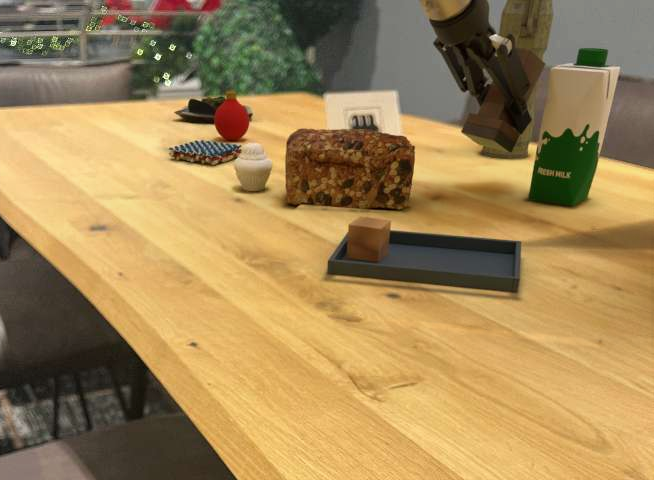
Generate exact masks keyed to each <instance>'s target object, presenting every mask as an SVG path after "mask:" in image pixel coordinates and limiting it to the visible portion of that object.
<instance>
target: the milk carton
mask: <svg viewBox="0 0 654 480" xmlns="http://www.w3.org/2000/svg"><path fill="white" fill-rule="evenodd" d="M608 55H609V49H606V48H596V47H594V48H593V47H583V48H581V47H580V48H578V52H577V55H576V56H577V57H576V62H575V63H564V64H557V65H556V66H554V67H550V69H549V77H548V83H547V91H546V99H545V103H544V109H543V112H542V113H543V114H542V119H541V124H540V130H539V134H538V139H537V145H536V151H535V158H534V163H533V169H532V172H531V173H532V174H531V180H530V186H529V192H528V198H527V199H528V200H530V201H536V202H542V203H548V204H554V205H560V206H567V207H574V206H576V205H578V204H579V203H581V202H582V201H584V200H585V199H588V197H589V194H590V190H591V187H592V185H593V181H594V178H595V175H596V172H597V167H598V164H599V159H600V156H601V152H602V147H603V144H604V139H605V134H606V131H607V125H608V121H609V118H610V113H611V109H612V104H613V100H614V96H615V91H616V87H617V84H618V79H619V75H620V70H621V66H612V65H608V64H606V63H607V59H608Z"/></svg>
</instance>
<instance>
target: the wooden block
mask: <svg viewBox="0 0 654 480" xmlns="http://www.w3.org/2000/svg"><path fill="white" fill-rule="evenodd" d="M391 226H392V220H390V219H383V218H378V217H377V218H376V217H369V216H358V217H357V218H355V219H354V220H353V221H352V222H350V223H348V226H347V227H348V228H347V229H348V230H347V233H348V243H347V258H348V259H355V260H362V261H369V262H375V263H378V262H379V261H380V260H382V259H383V258H384V257H385V256H386V255H387V254H388V250H389V239H390V230H391V229H392V228H391Z"/></svg>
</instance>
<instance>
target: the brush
mask: <svg viewBox="0 0 654 480" xmlns="http://www.w3.org/2000/svg"><path fill="white" fill-rule="evenodd" d="M516 50H517V53H518V55H519V58H520V60H521V62H522V65H523V67H524V70H525V72H526V75H527V77H528V79H529V82H530V84H531V87H530V88H529V90H528V91H527V93H526V94H525V95H524V99H525V102H526V104H527V101H528V99H529V97H530V95H531V93H532V91H533V89H534V87H535V85H536V83H537V81H538V79H539V80H540V77H541V75H542V72H543V70H544V69H545V66H546V62H545V61H543V59H542V60H541V59H540V58H539V57H538V56H537V55H536V54H535V53H534V52H533V51H531V50H528V49H521V48H516ZM538 82H539V81H538ZM490 84H491V86H490V88H489V90H488V92H487V94H486V96H485V99H484V101H483V103H482V105H481V107H480V106H479V110H478V111H477V113H473V112H469V113H468V116H467V118H466V120H465V122H464V125H463V127H462V129H461V131H460V133H461V134H463V135H464V136H466V137H467V138H468V139H470V140H471V141H473V142H474V143H476V144H477V145H479V146H482V147H483V146H486V147H490V148H493V149H497V150H501V151H505V152H508V153H511V152H512V150H513V148H514V146H515V144H516V142H517V140H518V138H519V136H520V133H519V132H518V131H516V130H515V129H514V128H515V127H514V125H513V123H512V121H511V119H510V116H509V114H508V112H507V110H506V108H505V106H504V105H503V103H504V101H505V100H506V99H505V97H504V96H503V95H502V93H501V92H500V90H499V89H498V87H497V86H496V84H495V83H494V81H493V80H492V81H491V83H490Z"/></svg>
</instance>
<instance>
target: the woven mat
mask: <svg viewBox="0 0 654 480" xmlns="http://www.w3.org/2000/svg"><path fill="white" fill-rule="evenodd" d="M242 147H243V145H241V144H240V145H238V144H236V143H234V144H232V143H229V142H227V143H226V142H217V141H210V140H204V139H202V140H199V141H198V140H194V141H189V142H188V143H184V144H179V145H175V146H174V148H173V147H169V148H168V150H171V152H169V153H168V155H169V157H170V158H175V160H176V161H180V160H182V161H187V162H191V163H195V162H201V164H202V165H204V164H211V165H212V166H215V165H217V164H219V162H221V163H225V162H227V161H231V160H232V159H233V158H236V159H237V158H238V157H239V155H240V154H241V153H242Z"/></svg>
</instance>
